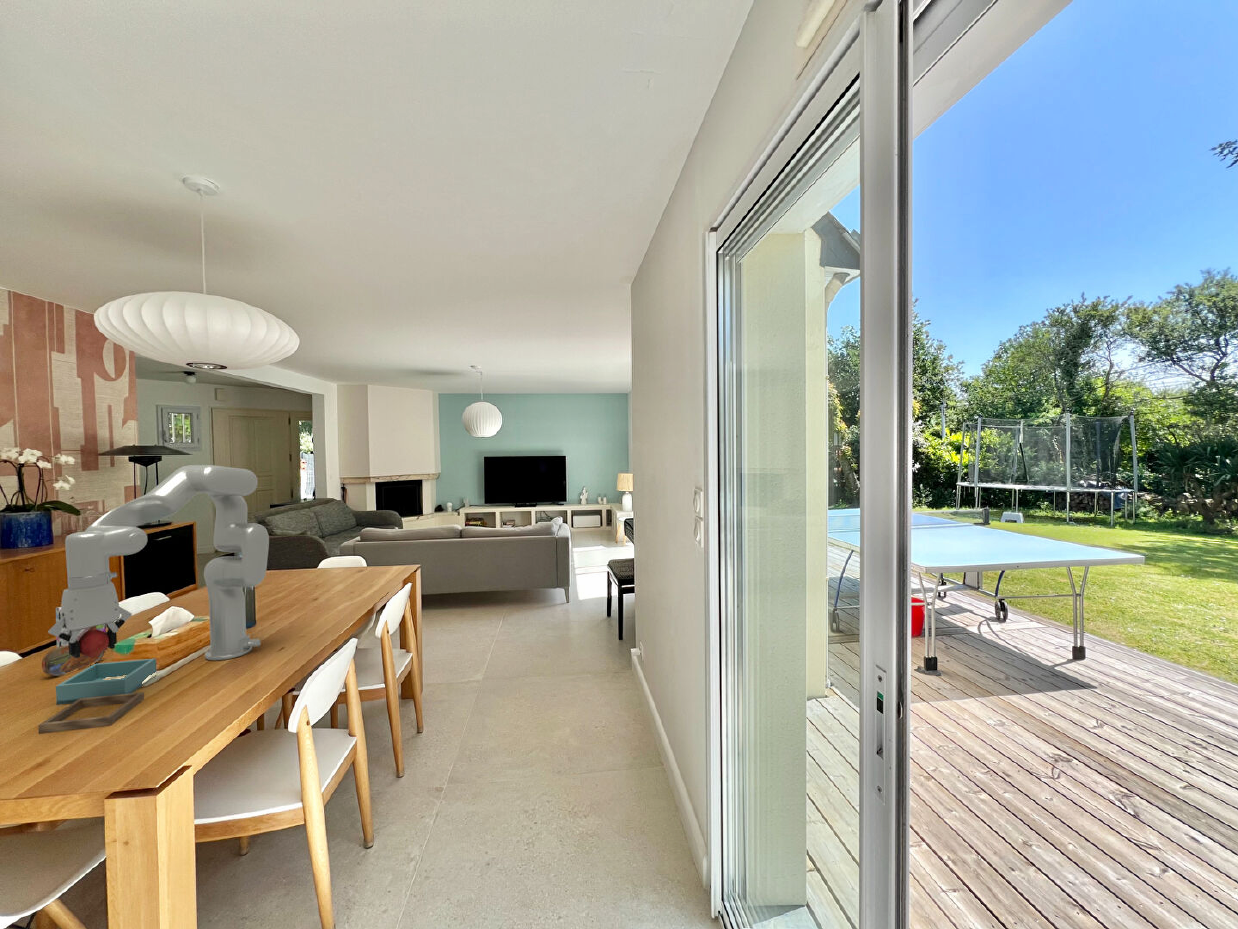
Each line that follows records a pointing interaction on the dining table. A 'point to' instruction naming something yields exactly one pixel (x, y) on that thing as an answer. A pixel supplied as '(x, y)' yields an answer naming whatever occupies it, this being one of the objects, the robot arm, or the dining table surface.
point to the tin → (65, 661)
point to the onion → (93, 642)
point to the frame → (59, 725)
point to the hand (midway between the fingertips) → (93, 651)
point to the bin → (94, 685)
